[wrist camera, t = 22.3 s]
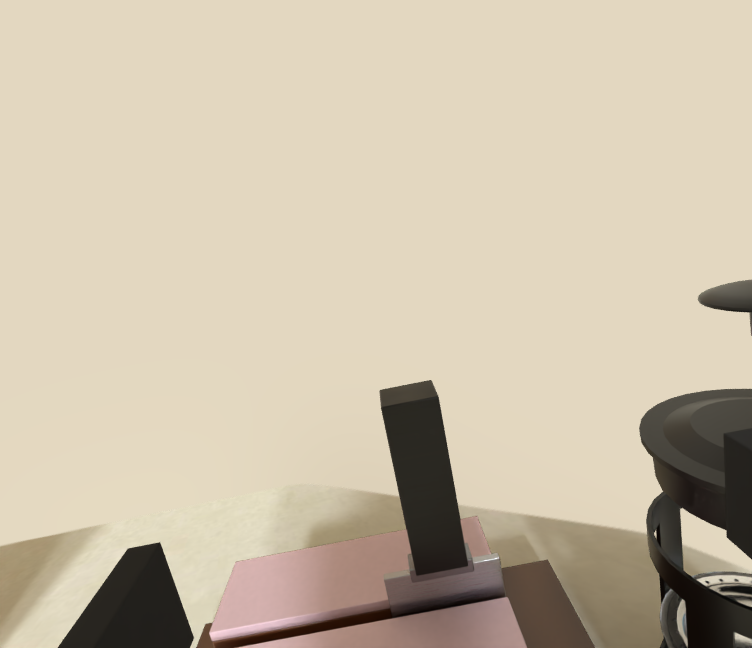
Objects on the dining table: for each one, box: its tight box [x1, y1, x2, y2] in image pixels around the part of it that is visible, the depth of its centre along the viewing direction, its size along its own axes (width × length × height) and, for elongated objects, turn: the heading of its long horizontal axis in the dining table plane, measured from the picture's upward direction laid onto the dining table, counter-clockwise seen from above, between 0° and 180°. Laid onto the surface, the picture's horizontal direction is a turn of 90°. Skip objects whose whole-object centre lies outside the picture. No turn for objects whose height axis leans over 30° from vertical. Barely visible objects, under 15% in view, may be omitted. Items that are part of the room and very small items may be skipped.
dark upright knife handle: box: [380, 380, 506, 618], centre depth 24 cm, size 6×2×19 cm, turn 92°
